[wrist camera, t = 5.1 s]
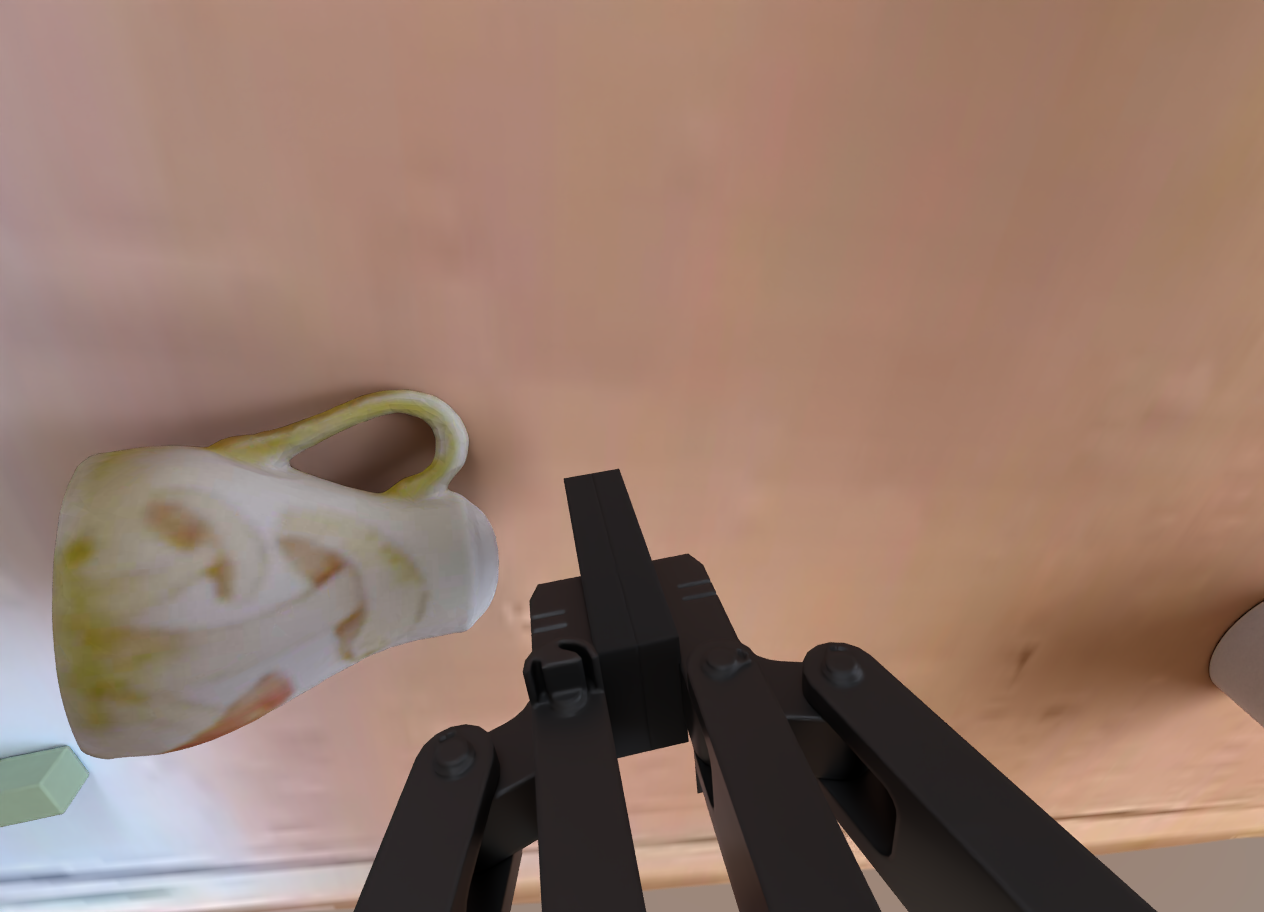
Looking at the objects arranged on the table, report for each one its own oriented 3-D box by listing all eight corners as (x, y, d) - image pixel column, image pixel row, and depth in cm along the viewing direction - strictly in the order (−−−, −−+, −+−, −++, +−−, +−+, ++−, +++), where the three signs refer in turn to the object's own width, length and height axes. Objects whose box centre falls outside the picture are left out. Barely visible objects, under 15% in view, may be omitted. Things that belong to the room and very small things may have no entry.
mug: (518, 606, 22) (304, 921, 14) (282, 489, 23) (-39, 721, 15) (560, 440, 17) (278, 767, 10) (265, 305, 19) (-205, 498, 11)
